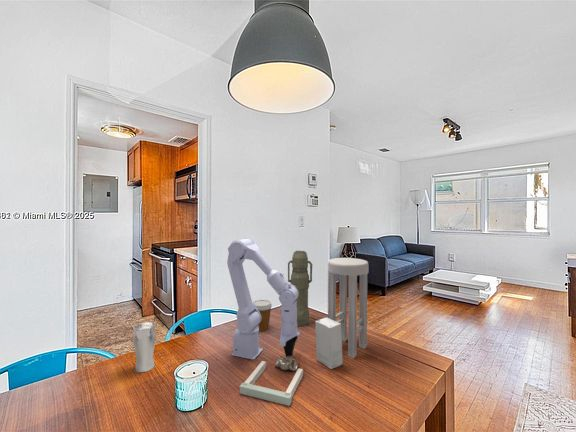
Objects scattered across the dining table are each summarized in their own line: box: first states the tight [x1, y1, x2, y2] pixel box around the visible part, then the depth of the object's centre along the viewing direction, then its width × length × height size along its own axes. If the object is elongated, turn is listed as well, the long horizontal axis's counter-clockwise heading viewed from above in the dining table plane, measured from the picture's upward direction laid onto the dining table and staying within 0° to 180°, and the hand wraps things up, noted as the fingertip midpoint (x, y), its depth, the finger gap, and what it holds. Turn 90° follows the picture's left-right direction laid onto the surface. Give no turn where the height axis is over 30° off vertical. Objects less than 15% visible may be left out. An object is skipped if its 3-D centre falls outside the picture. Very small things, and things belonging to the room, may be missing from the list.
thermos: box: [287, 250, 313, 327], centre depth 136 cm, size 9×12×35 cm
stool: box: [327, 257, 370, 359], centre depth 112 cm, size 16×16×35 cm
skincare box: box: [314, 316, 344, 370], centre depth 101 cm, size 8×6×15 cm
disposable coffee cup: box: [252, 299, 273, 332], centre depth 130 cm, size 10×10×12 cm
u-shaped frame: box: [239, 360, 304, 407], centre depth 89 cm, size 16×15×2 cm
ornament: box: [274, 355, 299, 372], centre depth 99 cm, size 8×7×4 cm
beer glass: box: [132, 321, 157, 374], centre depth 98 cm, size 7×7×15 cm
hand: (289, 356), depth 103 cm, fingers closed
